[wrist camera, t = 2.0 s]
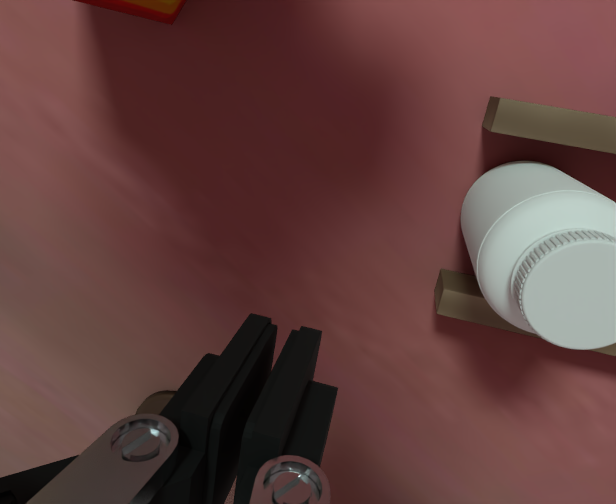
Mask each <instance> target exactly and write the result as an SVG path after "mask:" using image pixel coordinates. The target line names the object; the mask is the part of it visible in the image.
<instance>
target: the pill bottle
mask: <svg viewBox="0 0 616 504" xmlns="http://www.w3.org/2000/svg"><path fill="white" fill-rule="evenodd" d="M461 229H462V233H463V236H464V239H465V243H466V246H467V249H468V252H469V255H470V259H471V262H472V265H473V268H474V271H475V275H476V278H477V281H478V284H479V287H480V289H481V292H482V294H483V296H484V298H485V299H486V301H487V302H488V304H489V305H490V306H491V308H492V309H493V310H494V311H495V312H496V313H497V314H498V315H499V316H501V317H502V318H503V319H505V320H506V321H508V322H509V323H511V324H512V325H514V326H516V327H518V328H520V329H522V330H525V331H528V332H531V333H534V334H537V335H538V336H541V338H542V339H545V340H546V341H547V342H551V343H552V344H554V345H557V346H560V347H563V348H569V349H576V350H588V349H597V348H602V347H605V346H609V345H611V344H614V343H616V203H615V202H614V201H612V200H610V199H609V198H607V197H605V196H604V195H602V194H600V193H598V192H597V191H595V190H593V189H591V188H590V187H588V186H586V185H584V184H583V183H581V182H579V181H577V180H576V179H574V178H572V177H570V176H569V175H567V174H565V173H563V172H562V171H560V170H558V169H556V168H554V167H552V166H550V165H548V164H544V163H541V162H535V161H513V162H508V163H505V164H502V165H499V166H497V167H495V168H493V169H491V170H489V171H488V172H486V173H485V174H483V175H482V176H481V177H480V178H479V179H478V180H477V181H476V182H475V183H474V184H473V185H472V187H471V188H470V189H469V191H468V193H467V195H466V197H465V199H464V202H463V205H462V210H461Z"/></svg>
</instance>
